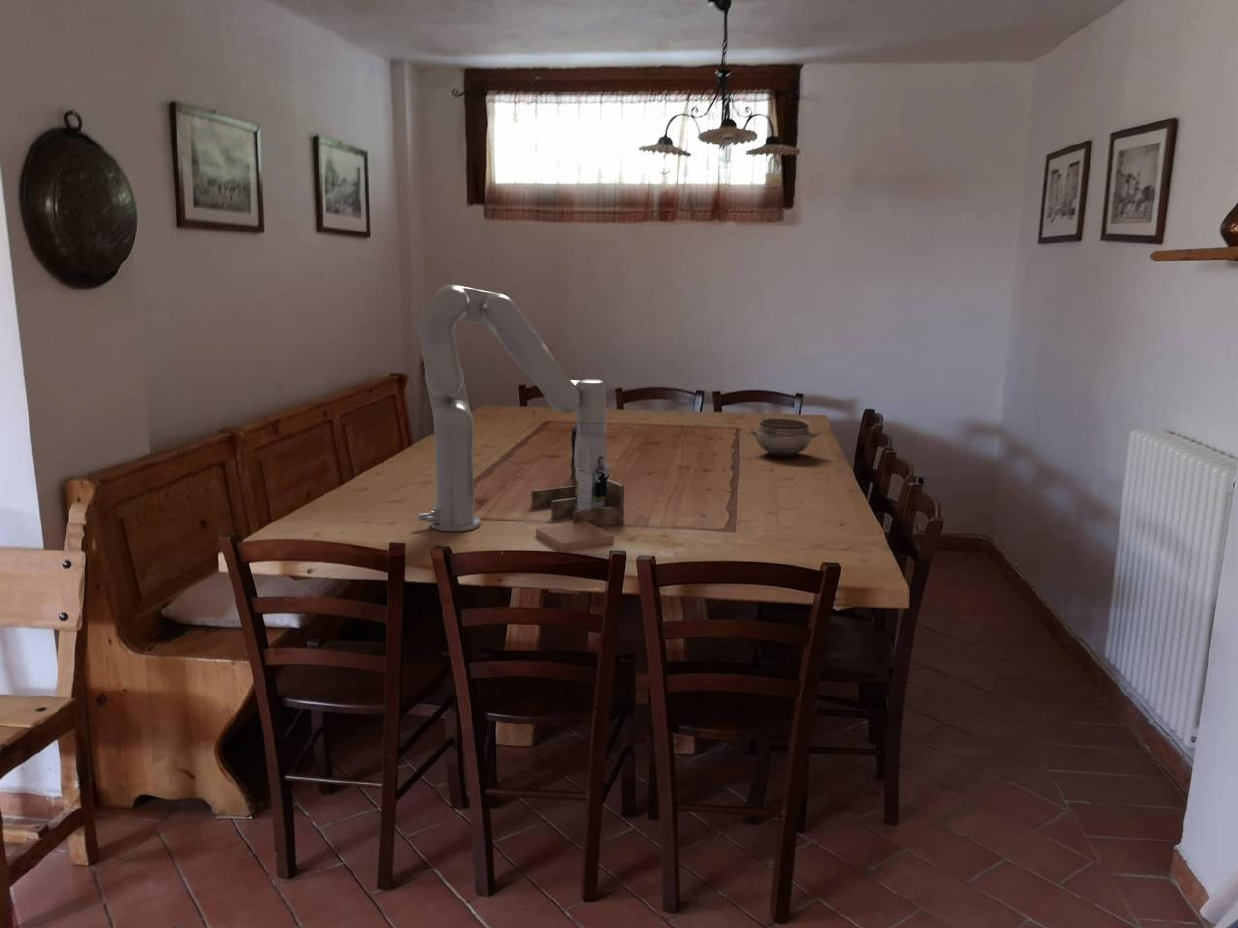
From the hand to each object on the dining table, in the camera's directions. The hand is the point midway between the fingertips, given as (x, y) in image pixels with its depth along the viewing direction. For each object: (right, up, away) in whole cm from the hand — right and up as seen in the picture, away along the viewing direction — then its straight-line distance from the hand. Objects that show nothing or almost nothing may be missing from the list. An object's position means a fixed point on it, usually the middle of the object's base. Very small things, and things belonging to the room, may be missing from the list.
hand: (591, 492), depth 245 cm
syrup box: (0, -7, +2) cm, 8 cm away
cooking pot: (+65, +10, +85) cm, 108 cm away
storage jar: (-3, +3, +50) cm, 50 cm away
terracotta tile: (-4, -11, -16) cm, 20 cm away
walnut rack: (-4, -6, +6) cm, 10 cm away
